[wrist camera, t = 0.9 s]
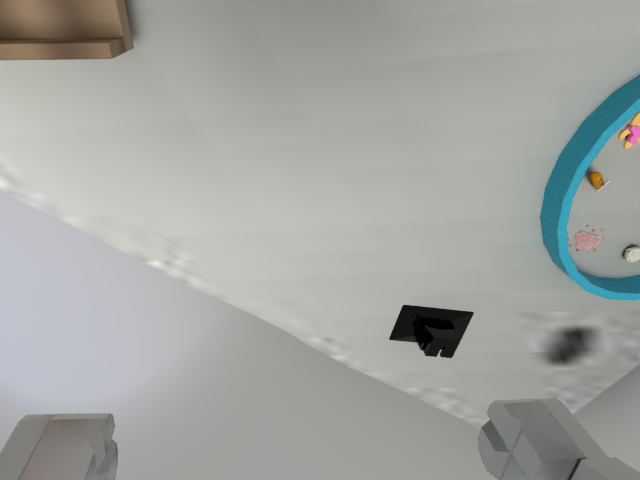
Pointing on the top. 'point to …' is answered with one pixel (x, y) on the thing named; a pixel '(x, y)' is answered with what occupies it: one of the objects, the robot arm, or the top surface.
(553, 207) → the blue flat round ring
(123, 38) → the cart
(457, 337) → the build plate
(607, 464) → the robot arm
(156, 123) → the top surface
